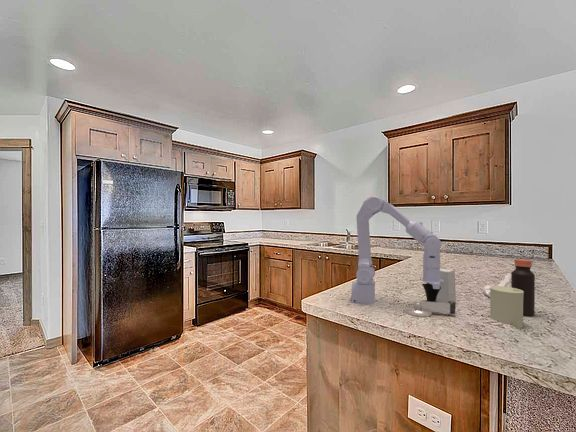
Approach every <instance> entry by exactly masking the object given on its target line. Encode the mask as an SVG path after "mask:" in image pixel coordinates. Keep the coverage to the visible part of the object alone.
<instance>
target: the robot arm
mask: <svg viewBox="0 0 576 432" xmlns="http://www.w3.org/2000/svg"><path fill="white" fill-rule="evenodd" d="M379 212H381V213H383V214H388V215H390V216H391V217H392V218H393V219H395V220H397V221H398V222H399V223H400V224H401V225H402V226H404V227H405V232H406V233H407V235H409V236H410V237H412V238H413V239H414V240H415V241H416V242H417V243H420V244H422V246H423V254H422V259H423V260H422V282H424V283H422V284H421V285H422V287H423V289H424V292H425V296H426V300H427V301H436V298H437V295H438V292H439V291H440V289H441V287H440V282H444V280H442V279H440V268H441V251H440V249H441V248H442V245H443V244H442V241H441V240H440V238H438V237H437V236H436V235H435V234H434V232H433V231H432V230H428V229H427V228H426V227H425V226H424V225H423V222H421V221H418V220H411V219H409V217H407V216H406V215H404V213H403V212H402V211H400V210H399V209H398V208H397V207H395V206H394V205H393V204H392V203H389V202H388V201H386V200H385V199H383V198H382V197H380V196H378V195H371V196H369V197H367V198H366V199H365V200H364V201H363V202H362V205H361V207H360V208H359V210H358V212H357V214H356V229H357V231H356V234H357V249H358V262H357V271H356V274H355V277H356V281H351V295H350V301H351V303H353V304H361V305H362V304H363V305H373V304H375V303H376V302H375V301H376V281H375V280H374V279H373V278H374V277H375V276H376V270H375V268H374V267H373V259H372V251H371V250H372V249H371V238H370V237H371V236H370V234H371V233H370V219H371V218H372V217H374V216H375V215H376V214H378V213H379Z"/></svg>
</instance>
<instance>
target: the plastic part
mask: <svg viewBox="0 0 576 432" xmlns="http://www.w3.org/2000/svg"><path fill="white" fill-rule="evenodd" d="M509 284H511V273H510V272H506V274H505V275H504V279H501V280H500V282H499V283H498V285H497V286H504V287H508V285H509ZM490 287H492V286H491V285H485V286H484V287H483V288H482V294H484V296H487V297H488V298H490Z"/></svg>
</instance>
